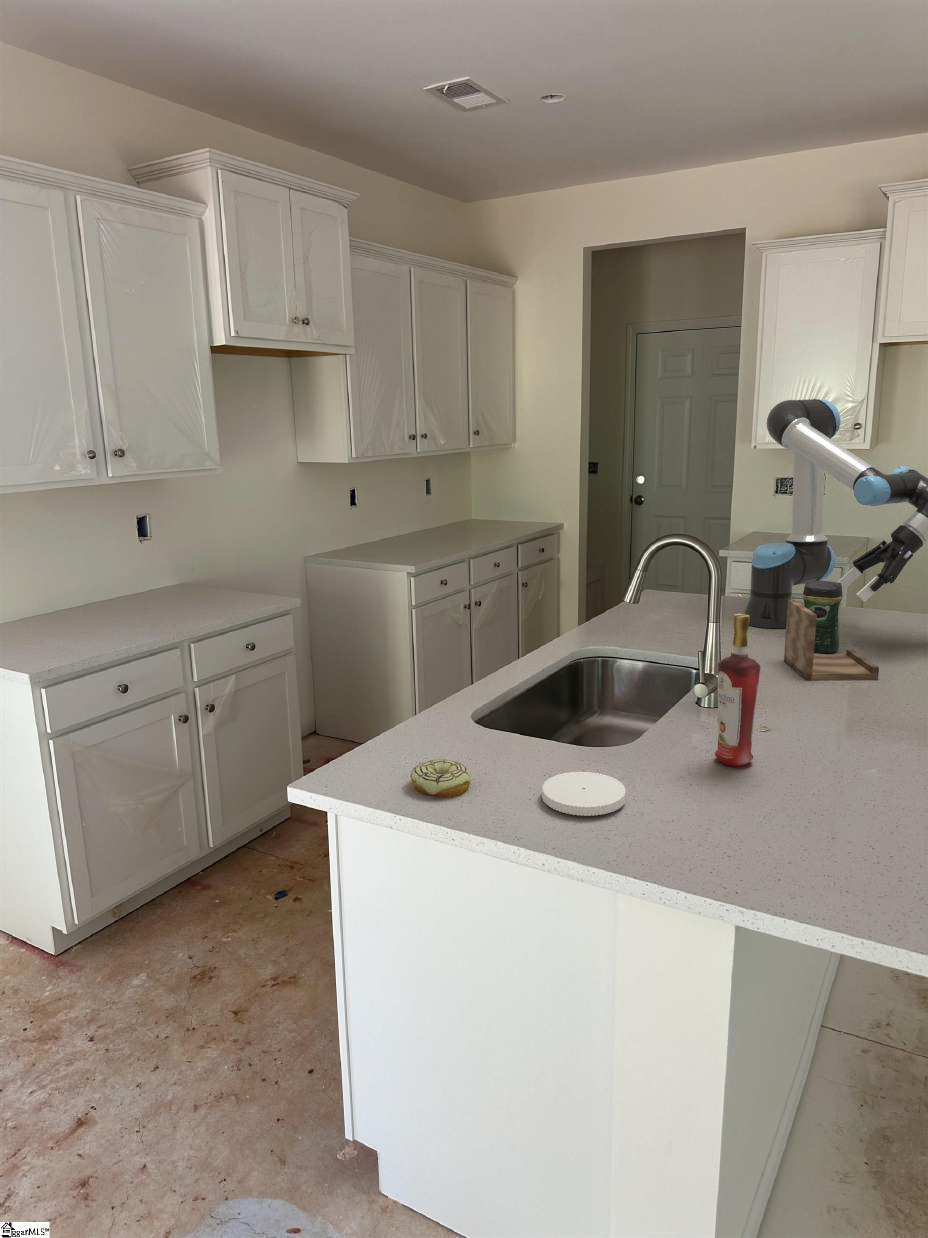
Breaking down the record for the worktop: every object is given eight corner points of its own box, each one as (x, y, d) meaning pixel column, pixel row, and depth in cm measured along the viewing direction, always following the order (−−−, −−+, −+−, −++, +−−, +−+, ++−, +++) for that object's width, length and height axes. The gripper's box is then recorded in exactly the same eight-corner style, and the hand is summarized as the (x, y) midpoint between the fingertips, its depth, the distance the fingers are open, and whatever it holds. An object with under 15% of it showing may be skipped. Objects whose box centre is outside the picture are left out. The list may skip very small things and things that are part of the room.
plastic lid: (627, 788, 153) (627, 774, 153) (623, 825, 140) (623, 810, 139) (548, 782, 156) (548, 769, 156) (536, 817, 143) (536, 803, 143)
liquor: (704, 758, 164) (711, 613, 158) (736, 751, 167) (744, 609, 160) (730, 772, 158) (739, 622, 151) (762, 765, 161) (772, 617, 154)
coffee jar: (841, 648, 234) (846, 580, 230) (834, 655, 228) (840, 585, 223) (803, 643, 239) (808, 576, 235) (795, 650, 233) (800, 582, 228)
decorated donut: (432, 806, 148) (431, 785, 147) (400, 785, 156) (399, 765, 155) (482, 790, 154) (482, 770, 153) (448, 770, 162) (448, 751, 161)
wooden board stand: (783, 661, 224) (788, 599, 220) (851, 660, 223) (856, 599, 219) (805, 680, 208) (810, 614, 204) (877, 679, 208) (884, 614, 204)
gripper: (947, 551, 213) (879, 613, 217) (900, 536, 237) (840, 592, 241) (927, 530, 212) (859, 593, 216) (882, 517, 236) (822, 573, 240)
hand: (849, 592), depth 228 cm, fingers open, 13 cm apart
